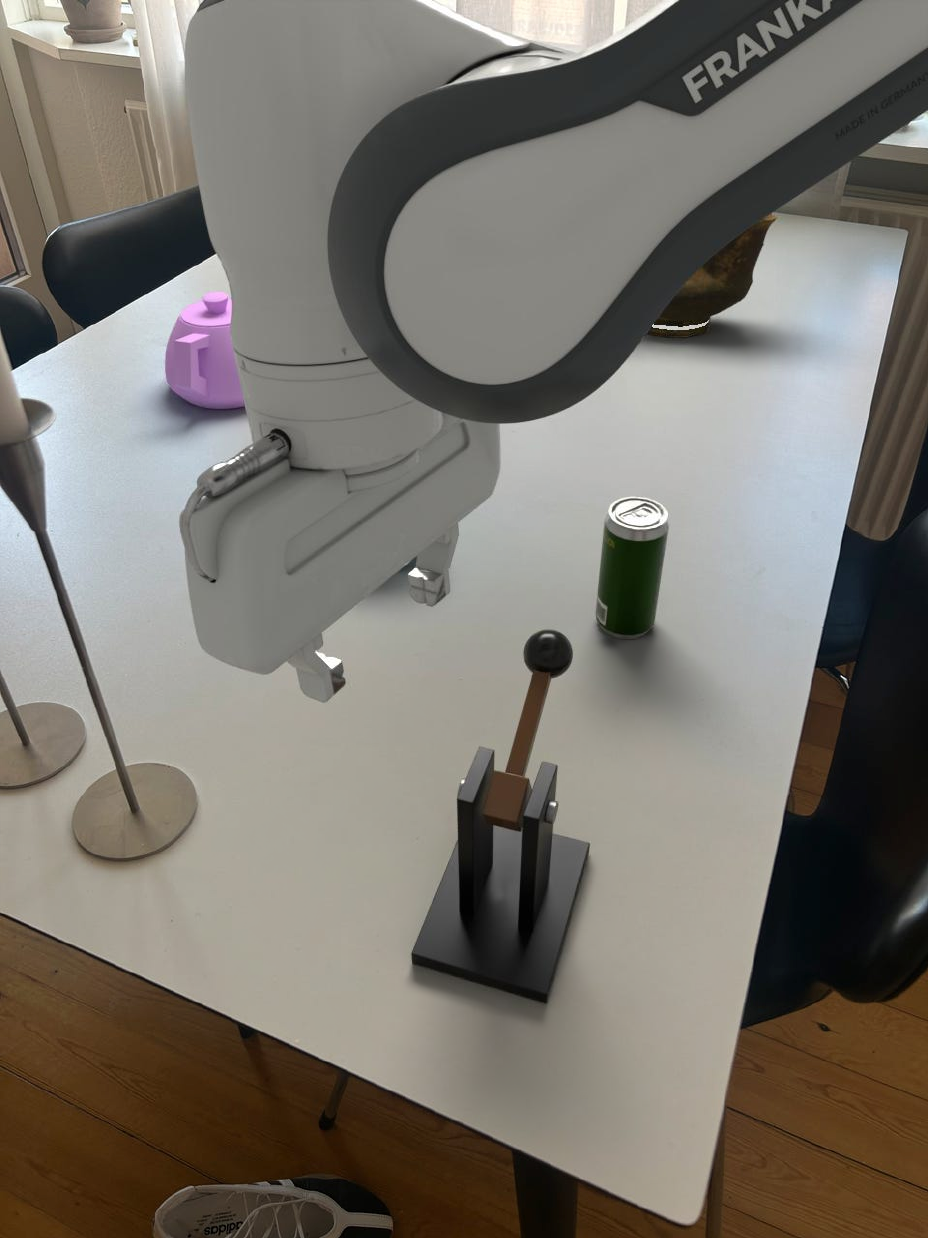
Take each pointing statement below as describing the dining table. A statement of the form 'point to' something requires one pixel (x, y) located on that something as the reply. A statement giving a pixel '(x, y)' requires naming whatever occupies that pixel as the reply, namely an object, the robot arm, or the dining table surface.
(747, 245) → the pottery vessel
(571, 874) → the bracket
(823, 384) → the dining table surface
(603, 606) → the green drink can
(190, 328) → the teapot
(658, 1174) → the dining table surface
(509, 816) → the lever
